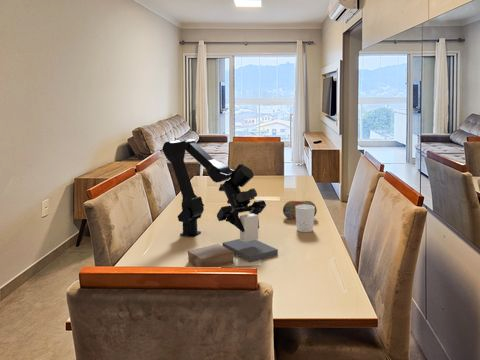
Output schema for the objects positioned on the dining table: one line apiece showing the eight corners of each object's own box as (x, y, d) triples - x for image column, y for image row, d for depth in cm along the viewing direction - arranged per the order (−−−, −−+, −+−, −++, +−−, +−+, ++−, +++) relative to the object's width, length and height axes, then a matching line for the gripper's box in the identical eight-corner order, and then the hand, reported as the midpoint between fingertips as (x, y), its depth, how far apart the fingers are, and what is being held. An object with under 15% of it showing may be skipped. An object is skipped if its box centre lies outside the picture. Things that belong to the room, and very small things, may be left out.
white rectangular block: (240, 240, 165) (239, 215, 163) (253, 236, 168) (253, 213, 166) (244, 242, 162) (244, 217, 160) (258, 239, 165) (258, 215, 164)
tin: (282, 219, 207) (282, 201, 205) (283, 217, 210) (283, 199, 208) (316, 220, 204) (316, 201, 203) (316, 218, 207) (316, 200, 206)
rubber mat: (222, 247, 170) (222, 242, 170) (249, 241, 176) (249, 236, 176) (249, 262, 155) (249, 256, 155) (277, 254, 161) (277, 249, 161)
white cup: (291, 230, 190) (291, 207, 188) (302, 226, 195) (302, 203, 193) (307, 234, 184) (307, 210, 182) (318, 229, 190) (318, 206, 188)
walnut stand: (188, 261, 156) (187, 250, 156) (218, 254, 163) (218, 243, 162) (202, 270, 148) (201, 259, 147) (233, 263, 155) (233, 251, 154)
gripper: (219, 184, 159) (237, 222, 152) (263, 178, 169) (281, 213, 162) (209, 202, 167) (225, 239, 160) (251, 195, 177) (268, 229, 170)
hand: (251, 229), depth 163 cm, fingers closed on white rectangular block, 6 cm apart
